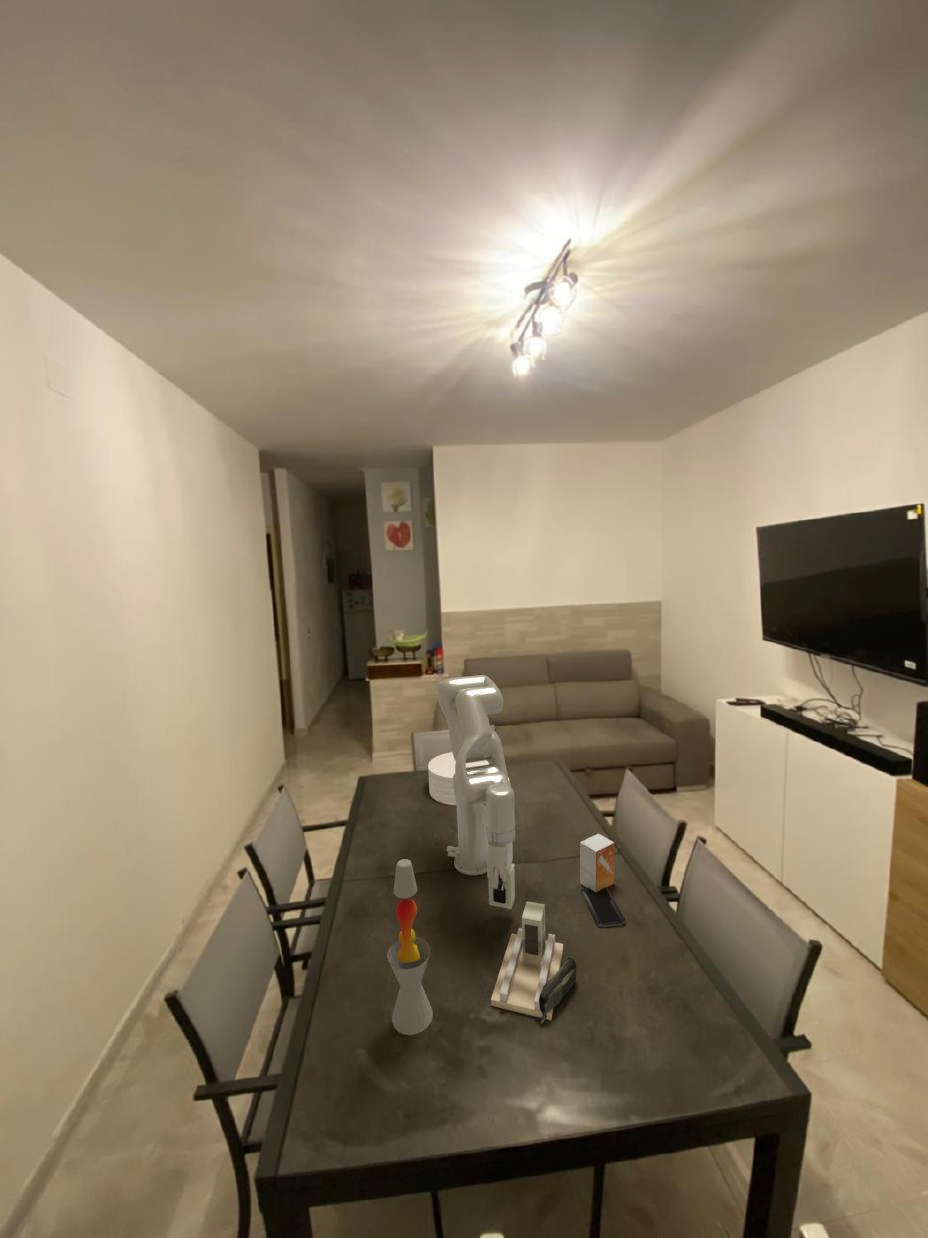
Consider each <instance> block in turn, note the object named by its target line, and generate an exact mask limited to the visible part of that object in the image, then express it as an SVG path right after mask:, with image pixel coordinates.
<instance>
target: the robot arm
mask: <svg viewBox="0 0 928 1238" xmlns="http://www.w3.org/2000/svg"><path fill="white" fill-rule="evenodd" d="M436 696H437V701H438V704H439V708H440V709H441V712H442V714H443V716H444V717H445V720H446V724H447V728H448V734H449V742H450V746H451V752H452V753H453V757H454V759H455V761H456V763H455V774H454V776H453V788H454V793H455V798H456V805H455V806H456V820H457V821H456V822H457V840H458V841H457V843H458V845H457V846H453V845H447V846H446V853H447V857H450V858H454V860H453V861H454V862H453V863H454V868H455V870H456V871H458V872H459V873H461V874H463V875H467V876H479V875H480V876H481V875H484V874H486V879H487V878H488V879H491V878H492V876H493V874H494V876H493V887H492V888H493V900H494V902H498V903H503V904H505V902H506V889H504V881H505V880H506V878H507V873H508V871H509V868H510V865H511V863H512V864H513V853H514V852H513V850H514V849H513V843H514V842H515V839H516V819H515V818H516V814H515V812H516V810H515V803H516V802H515V791H514V789H513V788H512V785H511V780H510V778H509V776H508V775H509V774H508V770H507V765H506V761H505V755H504V750H503V745H502V741H501V739H500V736H499V735H498V733H497V732H496V731H495V730H492V727H491V725H490V724H491V723H490V721H489V716H488V715H494V714H495V715H496V714H499V713H501V712H502V710H504V698H503V695H502V692H501V690H500V688H499V687H498V686H497V684H496V683H495V682H494V681H493V680H492V679H491V678H490V677H489V676H487V675H484V674H480V675H479V674H477V675H468V676H458V677H451V678H446V679H444V680H441V681H440V682H439V683H438V685H437V687H436ZM479 761H488V763H489V764H488V765H482V766H474V767H468V768H466V763H472V762H479ZM484 804H485V805H484ZM499 876H500V877H499ZM488 879H487V880H488ZM499 881H502V884H499Z"/></svg>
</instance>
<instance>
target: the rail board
mask: <svg viewBox="0 0 928 1238" xmlns="http://www.w3.org/2000/svg"><path fill="white" fill-rule="evenodd" d="M546 937H547V939H546ZM507 943H508V944H507V946H506V950H505V953H504V956H503V959H502V962H501V967H500V970H499V973H498V976H497V979H496V983H495V985H494V988H493V991H492V995H491V998H490V1004H491V1005H490V1006H492V1007H496V1008H500V1009H503V1010H508V1011H511V1012H516V1013H519V1014H524V1015H527V1016H531V1017H536V1018H540V1019H541V1018H542V1016H543V1014H542V1012H541V1010H540V1008H539V996H540V993H541V991H542V989H543V987H544V985H545V983H546V982H547V981H548V980H549V979H551V978H552V977H553V976H554V975H555V974H556V973H557V971H558V970H559V969H560V968H561V967H562V959H563V954H564V943H561V942H556V934H552V933H548V936H546V904H544V903H539V902H533V901H526V903H525V906H524V910H523V913H522V915H521V927H518V930H517V934H515V933H511V934H510V937H509V940H508V942H507ZM553 1013H554V1008H552V1009H551V1010H550V1011H549V1012H547V1017H546V1019H545V1020H548V1021H552V1018H553Z"/></svg>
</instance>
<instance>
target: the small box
mask: <svg viewBox="0 0 928 1238" xmlns="http://www.w3.org/2000/svg"><path fill="white" fill-rule="evenodd" d="M579 882H580V884H581V885H582V886H584V887H585V888H590V889H591V890H593V891H594V892H598V891H599V890H601V889H603V888H604V887H607V888H608V887H611V886H612V885H615V842H614V841H613V840H611V839H609V838H607V837H606V836H603V834H600V833H597V834H594V835H592V836H590V837H588V838H586V839H584V840H581V841H580V842H579Z"/></svg>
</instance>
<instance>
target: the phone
mask: <svg viewBox="0 0 928 1238" xmlns="http://www.w3.org/2000/svg"><path fill="white" fill-rule="evenodd" d="M580 892H581V895H582V897H583V900H584V902H585V904H586V906H587V908H588V911H589V912H590V914H591V917H592V919H593V920H594V921H593V922H594V923H595V925H596V927H598V928H600V929H606V928H607V929H608V928H614V927H615V928H616V927H617V928H618V927H624V926H626V919H625V917H624V916H623V913H622V911H621V910H620V907H619V906H618V904H617V902H616V900H615V898H614V897H613V895H612V893H611V892H610V890H609V888H608V887H604V888H603V889H601V890H599V891H598V892H594V891H593V890H591V889H590V888H587V887H585V888H582V889H581V891H580Z"/></svg>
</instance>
